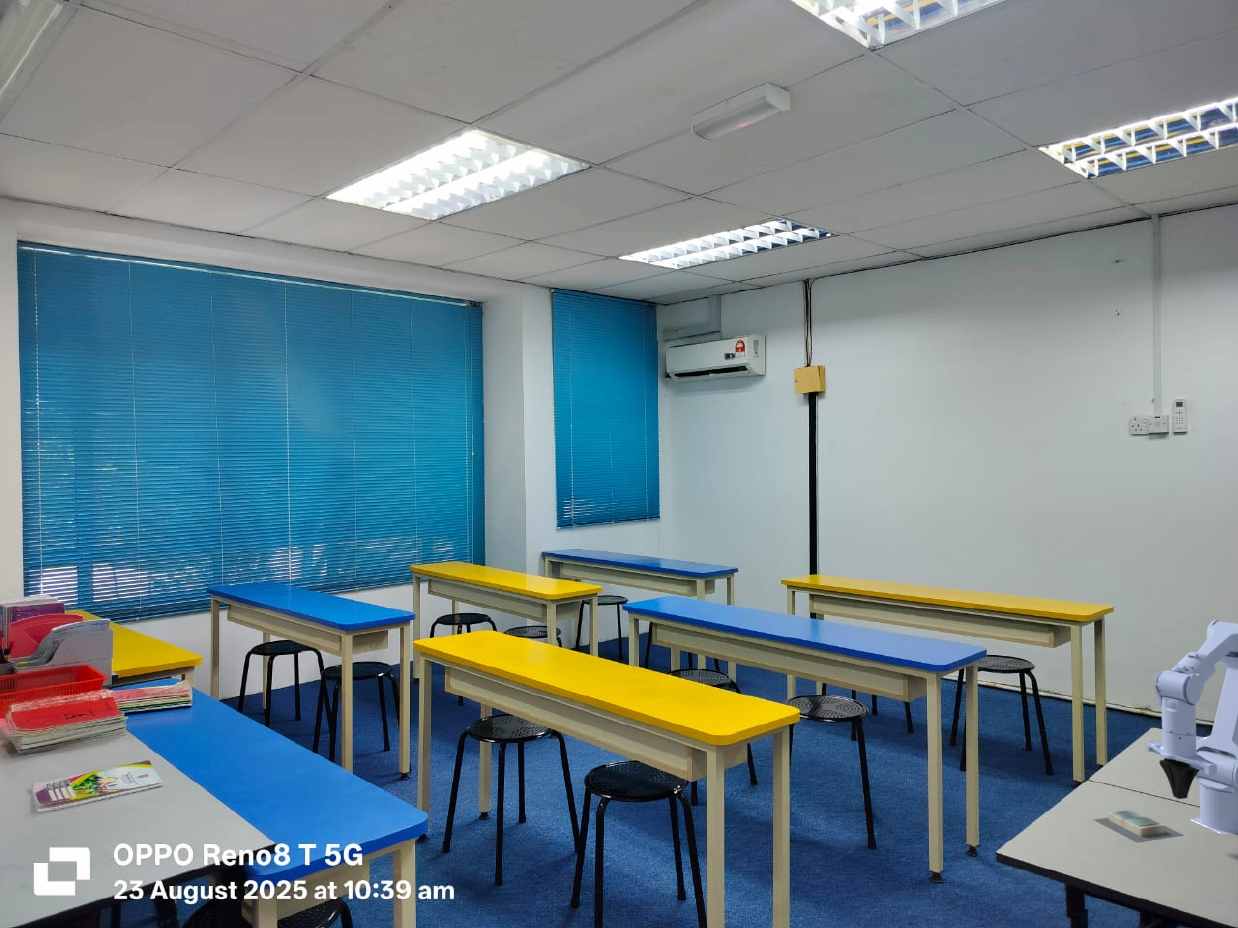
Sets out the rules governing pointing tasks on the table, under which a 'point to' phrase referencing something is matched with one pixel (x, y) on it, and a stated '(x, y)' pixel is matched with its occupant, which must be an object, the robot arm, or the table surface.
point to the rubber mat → (1167, 834)
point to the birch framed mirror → (1136, 822)
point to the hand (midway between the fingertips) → (1180, 797)
